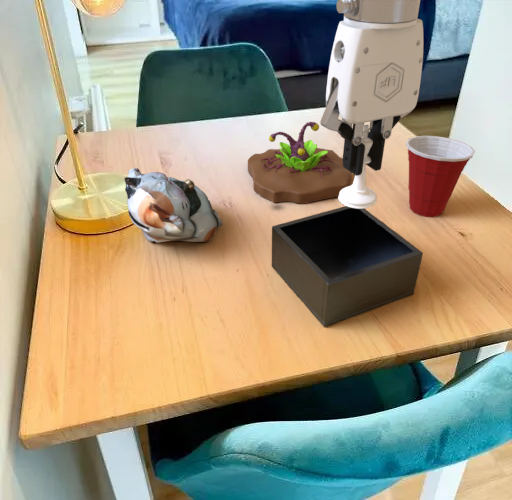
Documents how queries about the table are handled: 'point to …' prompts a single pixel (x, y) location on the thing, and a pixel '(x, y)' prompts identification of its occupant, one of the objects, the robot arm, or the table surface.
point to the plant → (298, 171)
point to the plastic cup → (434, 172)
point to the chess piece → (360, 183)
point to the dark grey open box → (344, 263)
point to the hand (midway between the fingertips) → (361, 167)
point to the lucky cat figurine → (169, 208)
